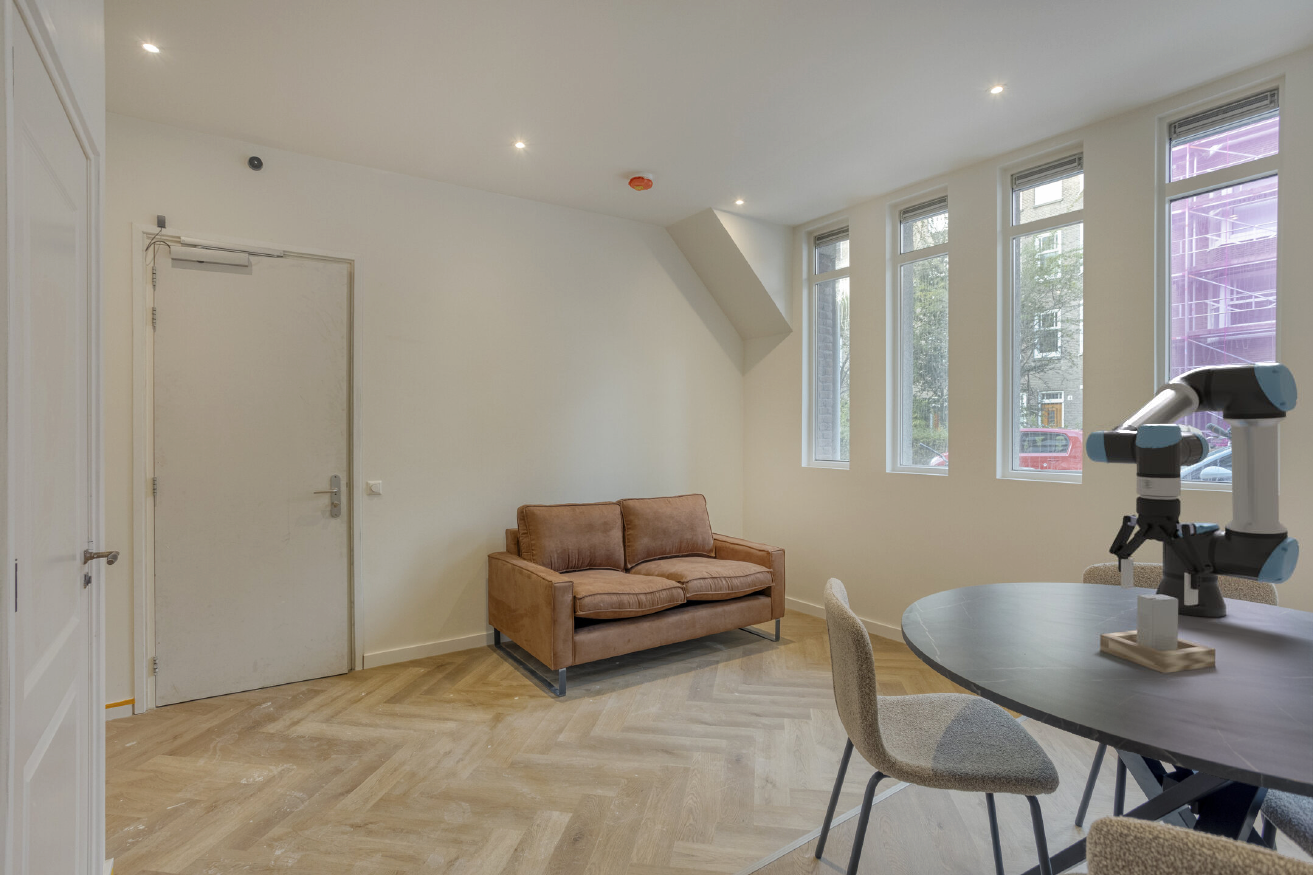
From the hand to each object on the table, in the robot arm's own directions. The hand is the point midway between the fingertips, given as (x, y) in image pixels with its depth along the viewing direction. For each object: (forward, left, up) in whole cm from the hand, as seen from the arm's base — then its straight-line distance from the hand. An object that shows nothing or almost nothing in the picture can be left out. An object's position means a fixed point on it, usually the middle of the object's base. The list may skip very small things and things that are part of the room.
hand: (1157, 595), depth 142 cm
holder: (0, 0, -13) cm, 13 cm away
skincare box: (0, 0, -12) cm, 12 cm away
